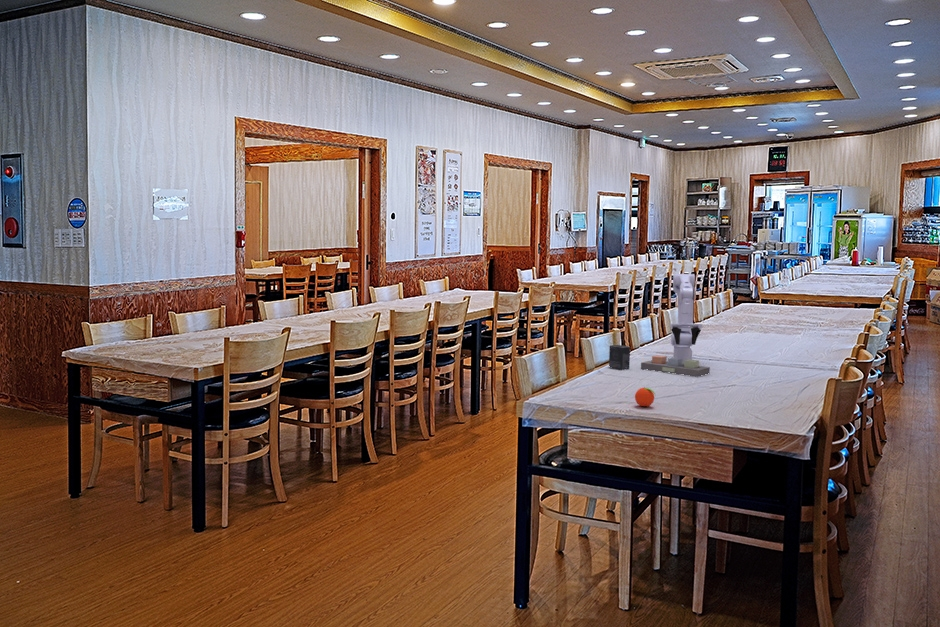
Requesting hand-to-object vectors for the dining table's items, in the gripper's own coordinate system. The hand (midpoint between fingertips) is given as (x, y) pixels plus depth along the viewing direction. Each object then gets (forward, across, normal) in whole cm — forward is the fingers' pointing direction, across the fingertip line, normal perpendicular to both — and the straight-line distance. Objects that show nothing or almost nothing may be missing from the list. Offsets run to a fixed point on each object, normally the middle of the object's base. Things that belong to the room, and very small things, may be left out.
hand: (685, 344), depth 372 cm
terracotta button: (+10, -14, +3) cm, 18 cm away
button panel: (+12, -6, +3) cm, 14 cm away
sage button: (+11, +2, +3) cm, 12 cm away
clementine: (+27, +21, -73) cm, 81 cm away
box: (+12, -28, -9) cm, 32 cm away
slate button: (+10, -6, +3) cm, 13 cm away
